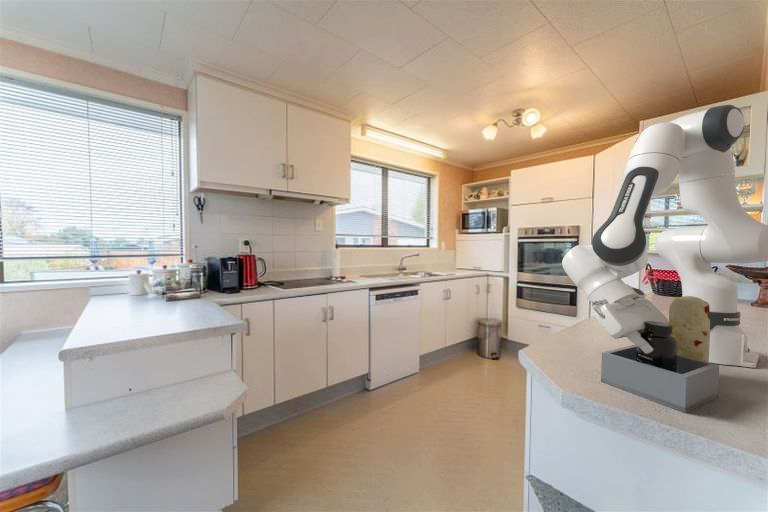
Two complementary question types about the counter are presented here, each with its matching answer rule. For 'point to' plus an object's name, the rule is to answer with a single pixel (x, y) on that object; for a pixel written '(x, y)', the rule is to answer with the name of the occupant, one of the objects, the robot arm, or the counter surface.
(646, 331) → the supplement bottle
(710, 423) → the counter surface
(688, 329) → the food model
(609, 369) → the bin
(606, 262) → the robot arm
